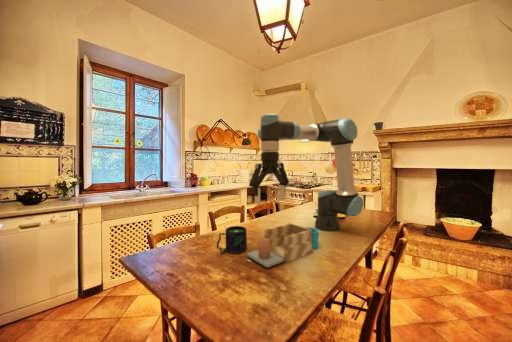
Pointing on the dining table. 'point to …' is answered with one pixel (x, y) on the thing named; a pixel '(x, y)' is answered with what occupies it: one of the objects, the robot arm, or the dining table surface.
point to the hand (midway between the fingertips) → (270, 201)
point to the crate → (290, 241)
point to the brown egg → (264, 248)
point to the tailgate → (266, 262)
